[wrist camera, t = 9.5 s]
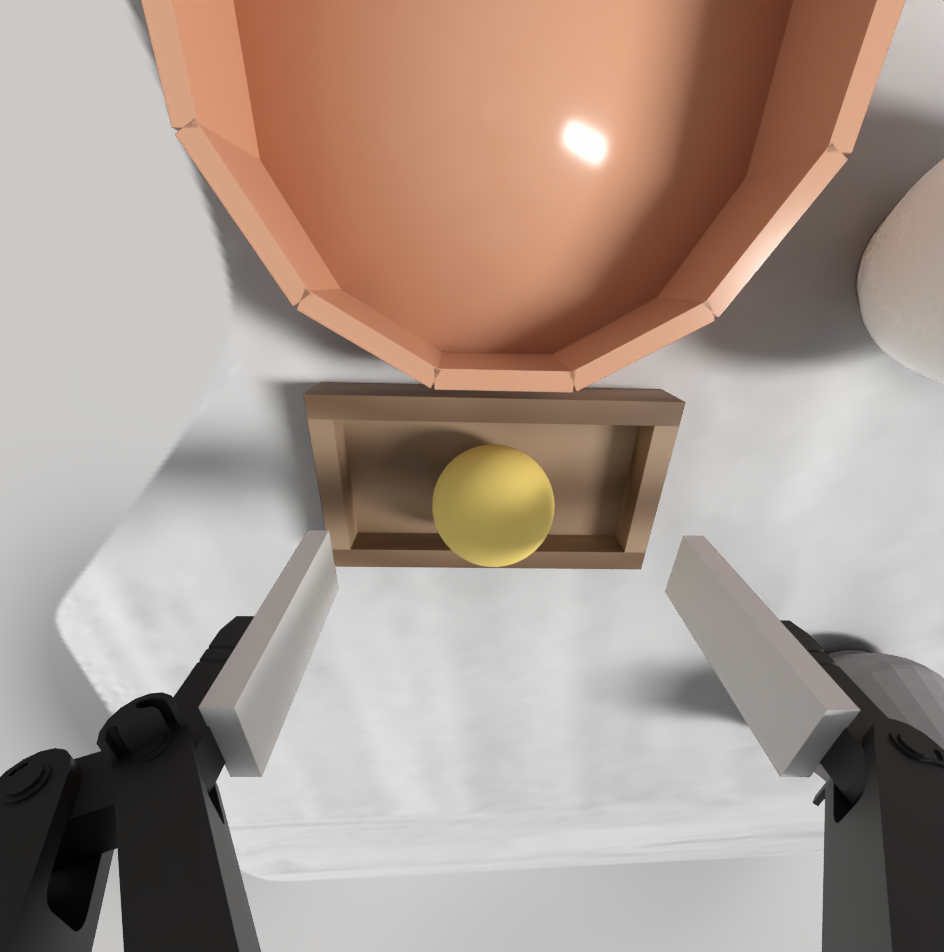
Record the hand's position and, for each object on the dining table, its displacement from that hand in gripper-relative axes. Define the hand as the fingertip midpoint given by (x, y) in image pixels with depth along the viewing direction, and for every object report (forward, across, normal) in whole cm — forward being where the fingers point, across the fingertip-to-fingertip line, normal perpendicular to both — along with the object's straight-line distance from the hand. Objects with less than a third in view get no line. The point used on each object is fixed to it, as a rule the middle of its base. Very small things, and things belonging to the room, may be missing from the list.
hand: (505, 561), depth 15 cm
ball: (+8, 0, -1) cm, 8 cm away
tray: (+9, 0, -1) cm, 9 cm away
